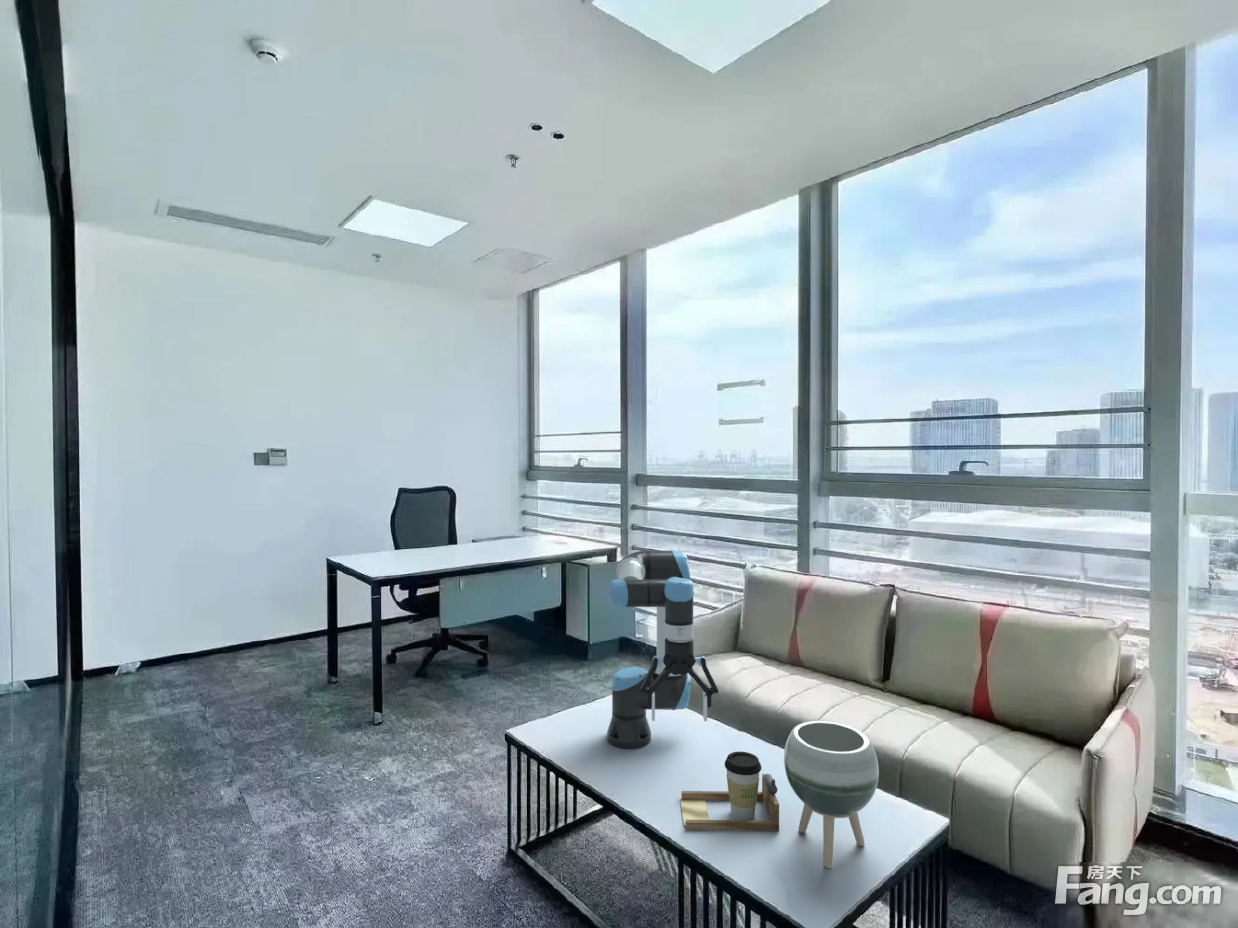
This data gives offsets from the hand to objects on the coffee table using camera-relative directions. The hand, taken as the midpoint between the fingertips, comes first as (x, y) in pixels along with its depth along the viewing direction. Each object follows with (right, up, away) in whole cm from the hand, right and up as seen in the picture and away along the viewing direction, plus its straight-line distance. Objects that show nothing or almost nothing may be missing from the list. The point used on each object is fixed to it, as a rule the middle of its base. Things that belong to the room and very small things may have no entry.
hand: (679, 718), depth 162 cm
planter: (+36, -28, -9) cm, 47 cm away
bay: (+14, -28, +5) cm, 32 cm away
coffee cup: (+18, -28, +5) cm, 34 cm away
